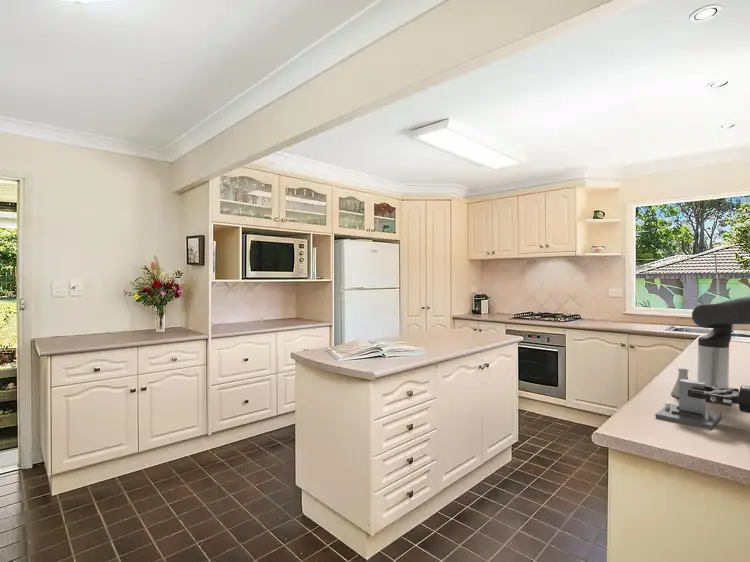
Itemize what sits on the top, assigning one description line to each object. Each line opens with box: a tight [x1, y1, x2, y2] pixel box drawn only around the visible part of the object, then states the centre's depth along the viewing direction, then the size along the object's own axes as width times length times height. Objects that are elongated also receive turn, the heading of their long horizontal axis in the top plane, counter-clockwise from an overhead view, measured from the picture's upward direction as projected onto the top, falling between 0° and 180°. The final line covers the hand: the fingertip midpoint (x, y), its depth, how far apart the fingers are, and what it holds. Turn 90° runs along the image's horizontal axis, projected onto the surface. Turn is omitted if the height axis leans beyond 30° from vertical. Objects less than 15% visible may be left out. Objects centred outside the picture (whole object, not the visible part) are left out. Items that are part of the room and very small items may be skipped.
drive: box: [678, 379, 706, 418], centre depth 130 cm, size 6×4×10 cm, turn 44°
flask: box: [670, 367, 690, 398], centre depth 154 cm, size 7×7×10 cm
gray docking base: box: [655, 402, 722, 430], centre depth 131 cm, size 14×16×3 cm
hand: (691, 390), depth 130 cm, fingers open, 8 cm apart
